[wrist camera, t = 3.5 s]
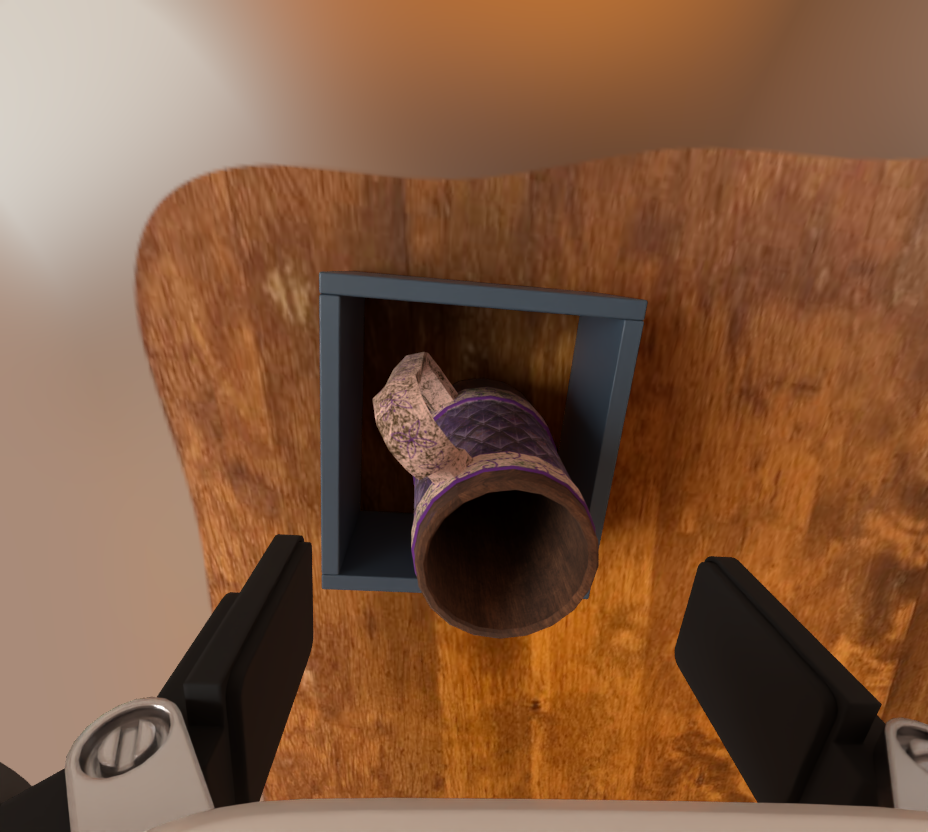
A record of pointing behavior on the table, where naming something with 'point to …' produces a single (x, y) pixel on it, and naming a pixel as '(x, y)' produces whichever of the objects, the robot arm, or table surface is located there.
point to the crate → (341, 404)
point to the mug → (486, 502)
